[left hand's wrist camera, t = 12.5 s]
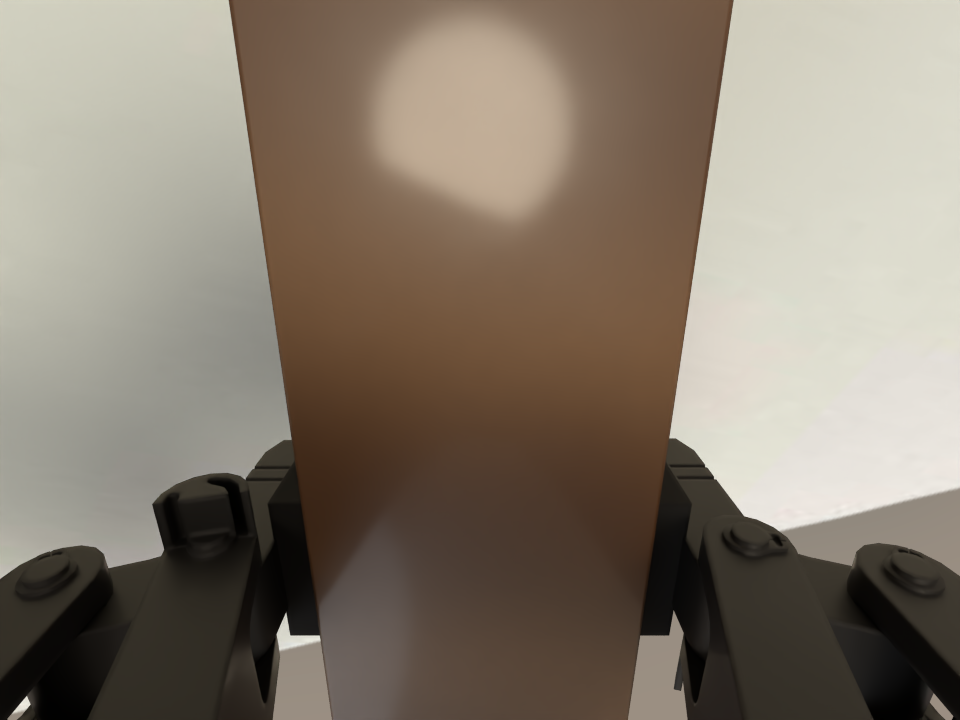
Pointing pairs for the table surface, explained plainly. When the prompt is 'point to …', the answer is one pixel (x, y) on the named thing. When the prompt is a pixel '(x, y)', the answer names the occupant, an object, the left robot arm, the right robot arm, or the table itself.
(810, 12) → the table surface
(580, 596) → the post
